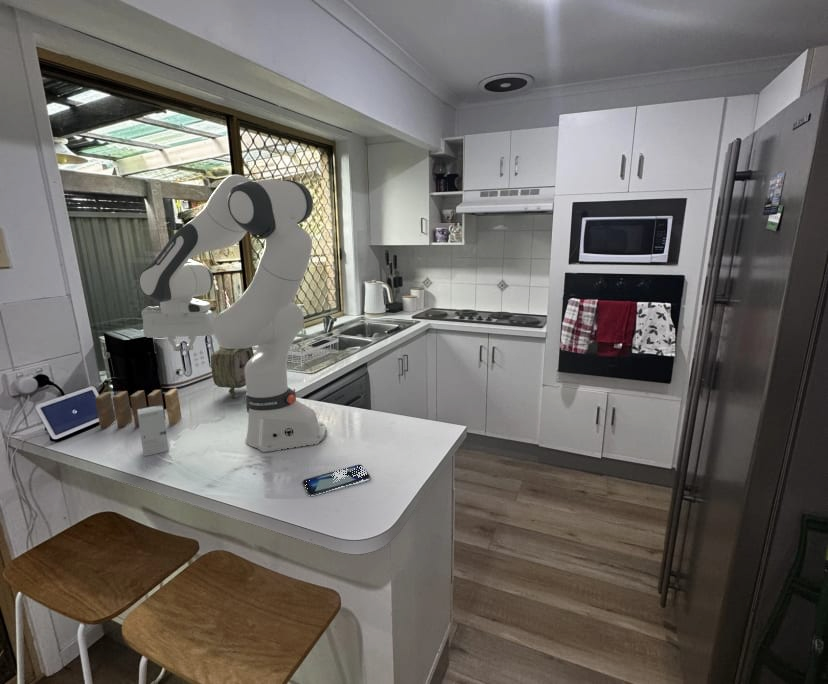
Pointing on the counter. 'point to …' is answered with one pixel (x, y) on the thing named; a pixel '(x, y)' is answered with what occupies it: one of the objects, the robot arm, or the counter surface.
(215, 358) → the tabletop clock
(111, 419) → the domino
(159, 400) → the domino
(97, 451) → the counter surface
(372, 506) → the counter surface
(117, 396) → the domino
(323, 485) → the smartphone
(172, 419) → the oak domino
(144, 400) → the domino
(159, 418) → the skincare box
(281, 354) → the robot arm
